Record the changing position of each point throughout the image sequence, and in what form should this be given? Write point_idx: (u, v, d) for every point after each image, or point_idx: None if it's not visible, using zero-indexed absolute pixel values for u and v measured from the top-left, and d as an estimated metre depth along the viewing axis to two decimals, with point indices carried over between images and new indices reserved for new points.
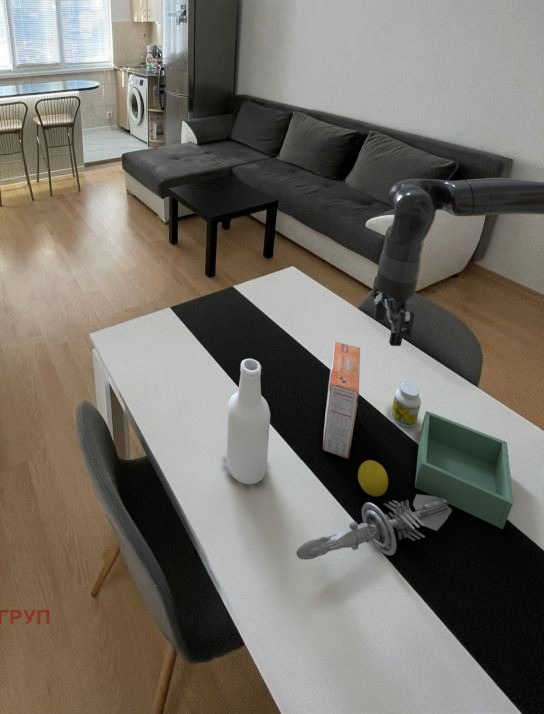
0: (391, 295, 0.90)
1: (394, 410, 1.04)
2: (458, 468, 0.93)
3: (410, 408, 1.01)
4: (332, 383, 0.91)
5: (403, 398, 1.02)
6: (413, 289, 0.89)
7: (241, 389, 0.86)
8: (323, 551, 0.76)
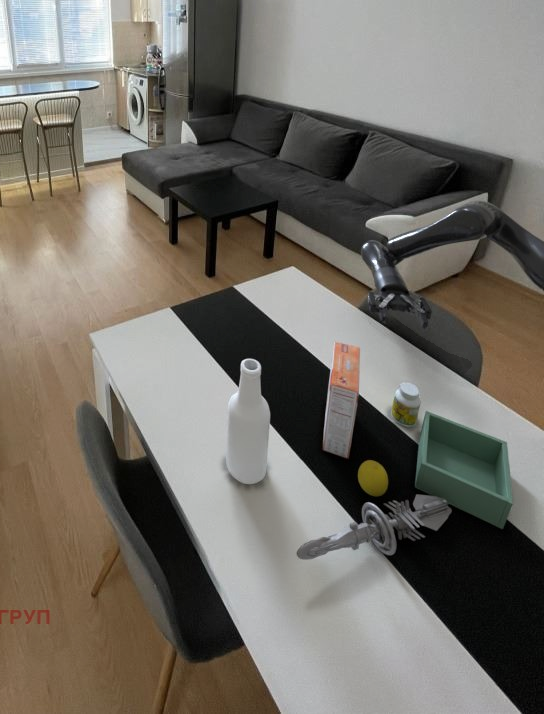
0: None
1: (394, 410, 1.04)
2: (458, 468, 0.93)
3: (410, 408, 1.01)
4: (332, 383, 0.91)
5: (403, 398, 1.02)
6: (381, 283, 1.20)
7: (241, 389, 0.86)
8: (323, 551, 0.76)
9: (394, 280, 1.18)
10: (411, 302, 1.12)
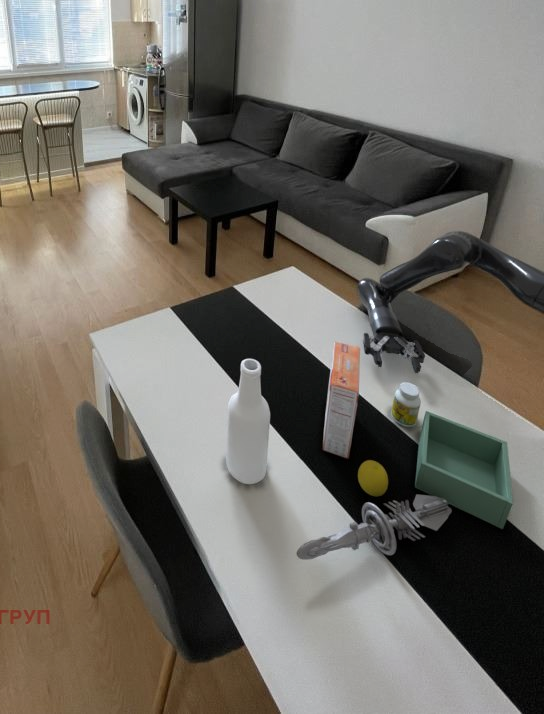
0: None
1: (394, 410, 1.04)
2: (458, 468, 0.93)
3: (410, 408, 1.01)
4: (332, 383, 0.91)
5: (403, 398, 1.02)
6: (376, 324, 1.23)
7: (241, 389, 0.86)
8: (323, 551, 0.76)
9: (389, 322, 1.21)
10: (405, 345, 1.16)
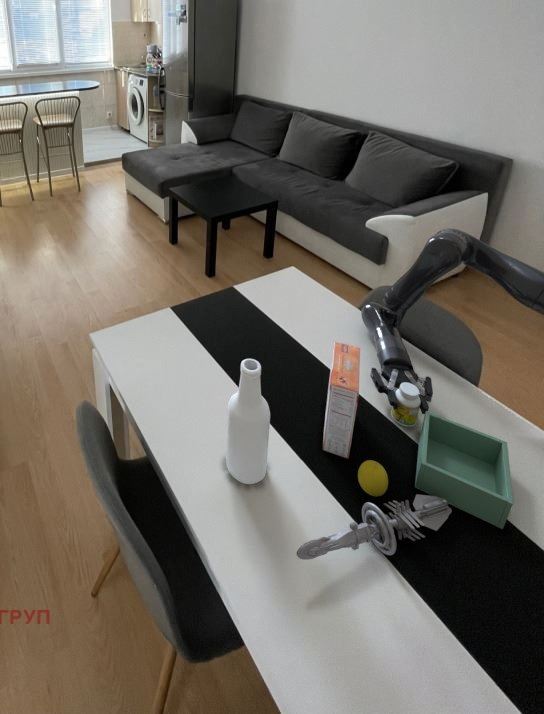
0: None
1: (394, 410, 1.04)
2: (458, 468, 0.93)
3: (410, 409, 1.01)
4: (332, 383, 0.91)
5: (403, 398, 1.02)
6: (384, 355, 1.14)
7: (241, 389, 0.86)
8: (323, 551, 0.76)
9: (397, 353, 1.12)
10: (413, 381, 1.06)
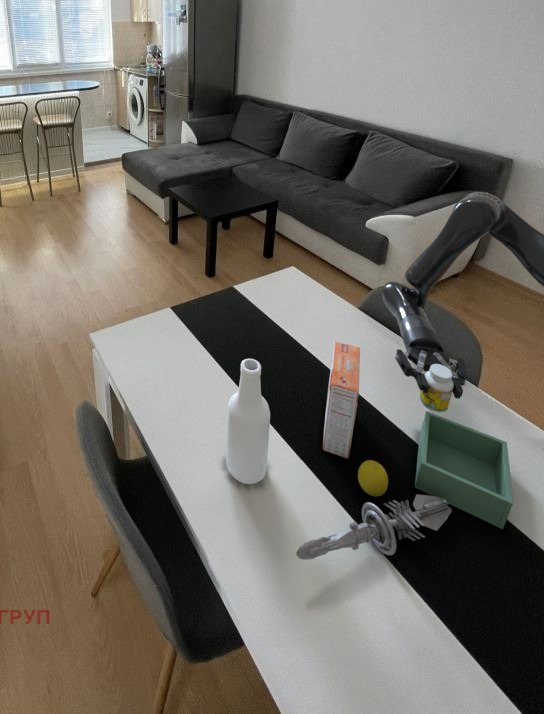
0: None
1: (424, 395, 0.94)
2: (458, 468, 0.93)
3: (442, 392, 0.91)
4: (332, 383, 0.91)
5: (434, 381, 0.92)
6: (409, 336, 1.04)
7: (241, 389, 0.86)
8: (323, 551, 0.76)
9: (425, 334, 1.02)
10: (444, 363, 0.96)
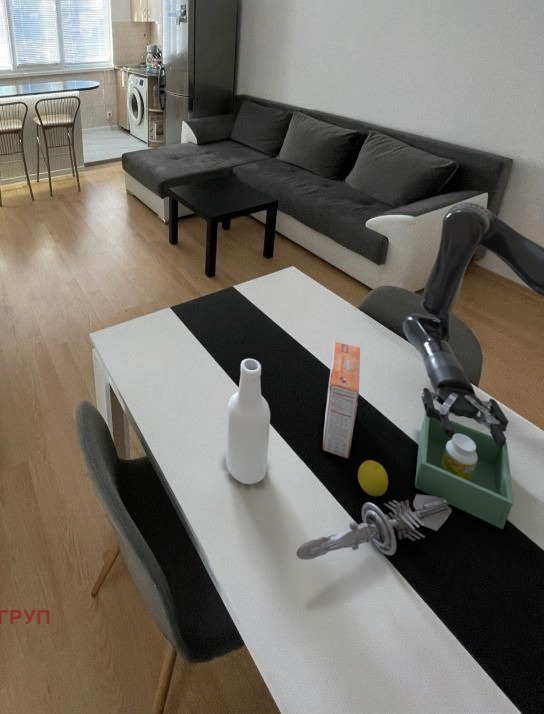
0: None
1: (446, 466, 0.91)
2: None
3: (466, 466, 0.87)
4: (332, 383, 0.91)
5: (457, 453, 0.88)
6: (437, 375, 0.97)
7: (241, 389, 0.86)
8: (323, 551, 0.76)
9: (455, 374, 0.95)
10: (480, 407, 0.90)
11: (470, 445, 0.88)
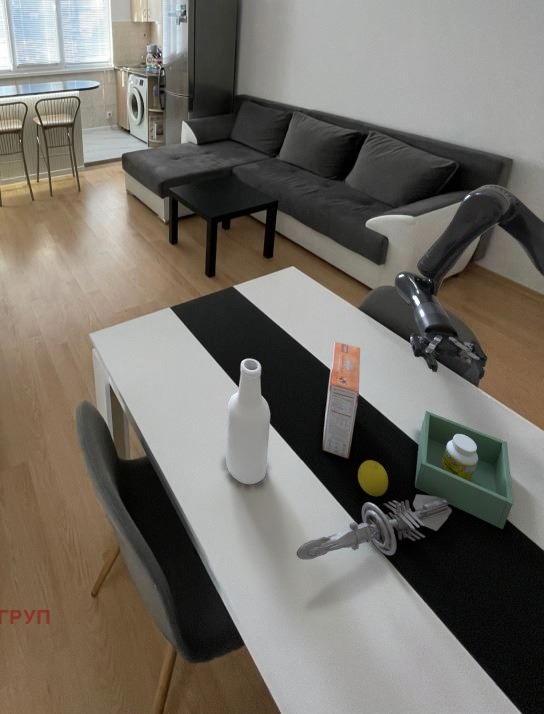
0: None
1: (446, 466, 0.91)
2: None
3: (466, 466, 0.87)
4: (332, 383, 0.91)
5: (457, 453, 0.88)
6: (424, 322, 1.07)
7: (241, 389, 0.86)
8: (323, 551, 0.76)
9: (440, 319, 1.05)
10: (462, 346, 0.99)
11: (471, 445, 0.88)
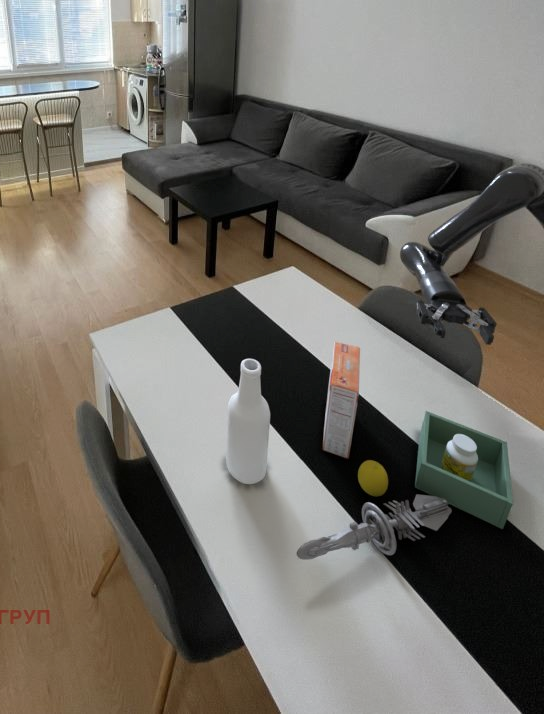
0: None
1: (446, 466, 0.91)
2: None
3: (466, 466, 0.87)
4: (332, 383, 0.91)
5: (457, 453, 0.88)
6: (431, 290, 1.04)
7: (241, 389, 0.86)
8: (323, 551, 0.76)
9: (447, 287, 1.02)
10: (470, 313, 0.96)
11: (471, 445, 0.88)
